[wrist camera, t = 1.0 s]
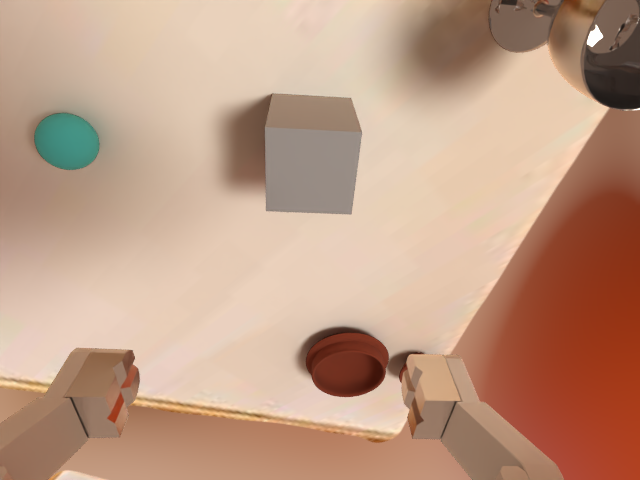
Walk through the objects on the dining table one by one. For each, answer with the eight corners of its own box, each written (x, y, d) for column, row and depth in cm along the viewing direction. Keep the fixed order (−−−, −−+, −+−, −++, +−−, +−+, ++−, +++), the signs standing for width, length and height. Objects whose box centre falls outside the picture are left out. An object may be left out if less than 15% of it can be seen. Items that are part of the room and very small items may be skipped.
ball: (44, 104, 37) (12, 122, 33) (100, 107, 37) (76, 126, 33) (61, 155, 40) (33, 178, 36) (113, 157, 40) (91, 180, 36)
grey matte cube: (272, 93, 37) (264, 127, 30) (351, 98, 38) (362, 132, 30) (272, 166, 41) (266, 211, 34) (343, 169, 42) (351, 214, 35)
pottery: (315, 316, 55) (315, 342, 51) (451, 334, 58) (461, 359, 54) (299, 370, 61) (298, 396, 58) (422, 383, 64) (429, 409, 61)
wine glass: (493, 73, 37) (587, 133, 25) (474, -21, 33) (577, -5, 20) (585, 31, 35) (736, 73, 23) (577, -74, 31) (758, -91, 19)
